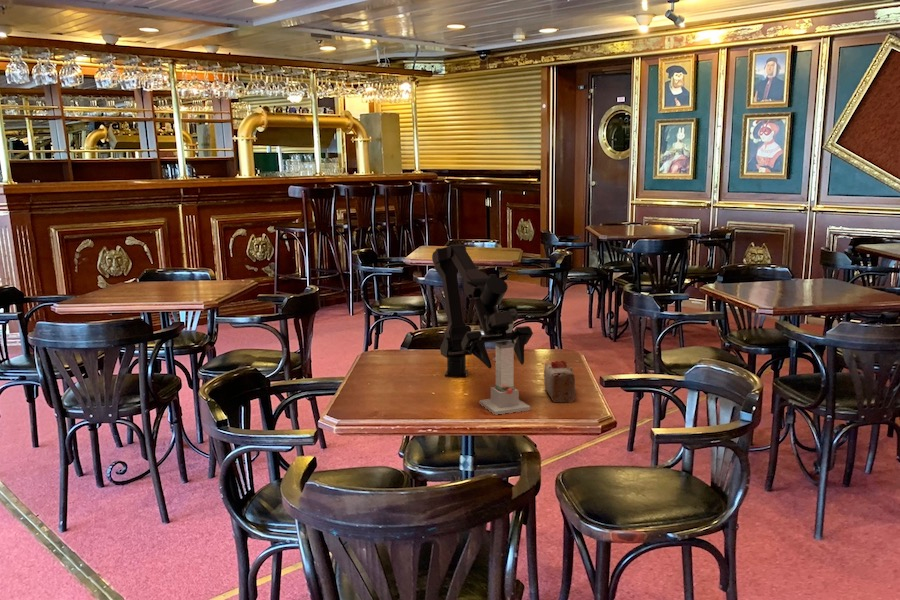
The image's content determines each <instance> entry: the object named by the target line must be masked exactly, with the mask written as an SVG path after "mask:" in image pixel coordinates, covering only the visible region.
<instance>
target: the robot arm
mask: <svg viewBox="0 0 900 600" xmlns="http://www.w3.org/2000/svg"><path fill="white" fill-rule="evenodd" d="M431 258H432V259H431V260H432V263H433V264H434V270H435V271H436V272H437V274H438V275H439V276H440V277H441V280H442V281H441V282H442V289H443V295H444V296H443V297H444V303H445V311H446V317H447V326H446V327H445V328H446V329H445V331H444V334H443V336H444V338H443V340H442V343H441V345H440V347H439V349H440V355H442V356H443V357H444V358H446V372H445V373H444V377H448V378H449V377H451V378H453V377H454V378H466V377H467V375H468V372H469V370H468V369H467V366H466V365H467V363H466V361H467V360H466V358H467V357H466V356H472V355H474V357H476V358H477V359H478V360H480V361H481V362H482V363H483V364H484V366H486V368H488V369H489V370H490V369H492V362H491V358H490V356H489V354H488V352H487V349H486V344H487V343H495V342H499V341H510V342H511V343H513V344H515V347H514V353H515V356H516V358H517V359H518V363H520V365H522V366H524V365H525V364H524V363H525V345H527V344H528V343H529V341H530V339H531V337H532V336H533V335H534V333H533V330H532V328H531V327H530V325H529V326H528V325H523V326H516V327H515V328H514V329H513V330H514V331H512V332H511V333H506V330H508V329H509V324H513V322H514V323H515V322H516V321H518V320H519V315H518V314H519V313H518V312H517V309H516V308H510V309H508V310H506V311H499V309H498V306H499V305H500V304H501V302H502V301H503V299H504V296H505V294H506V293H507V290H508V287H509V286H508V284H507V282H506V281H505V280H503V278H501V277H498V275H497V274H496V273H491V274H487V273H486V272H484V271H481V270H479V269H478V268H477V266H476V264H475V263H474V261H473V259H472V258H471V256H470V255H469V253H468V251H467V247H466V245H465V244H460V243H458V244H450V245H447V246H444V247H440V248H439V247H437V248H436V249H435V251H433V253H432V255H431ZM458 274H460V276H461V278H462V280H463V281H464V283H463V291H464V294H465V296H466V297H467V298H468V299H476V300H475V302H474V303H473V308H472V309H473V313H476V314H477V317H478V320H479V326H478V327H479V330H473V331H472V329H471V328H472V327H471V326H470V325H467V323H466V322H465V321H464V315H463V308H462V300H461V294H460V293H461V292H460V286H459V277H458ZM480 330H482V331H480ZM482 332H483V334H482Z"/></svg>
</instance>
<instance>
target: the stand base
mask: <svg viewBox="0 0 900 600" xmlns="http://www.w3.org/2000/svg"><path fill="white" fill-rule="evenodd" d="M519 394H520V392H519V389H517V388H516V387H514V390H513V388H509V389H508V390H507V391H505V392H500V391H499V390H497V389H496V387H495V386H490V398H487V399H481V400H479V403H478V404H479V405H480V404H481V405H480V406H482V407H483V406H484V407H485V410H487V409H488V410H489V413H491V412H492V413H491V414H493V415H494V414H495V415H494V416H499V415H498V414H502V415H506V414H505V413H509V414H514V413H513V412H516V413H520V412H521V411H522V412H527V411H531V406H530V405H529V404H527V403H525V402H524V401H522V400H521V399H520V397H519V396H520V395H519ZM484 407H483V408H484ZM488 410H487V411H488Z"/></svg>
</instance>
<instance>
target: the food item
mask: <svg viewBox="0 0 900 600" xmlns="http://www.w3.org/2000/svg"><path fill="white" fill-rule="evenodd" d="M568 363H569V360H568V362H566V361H565V360H559V361H558V360H555V361H554V360H553V361H547V362H545V364H544V369H543V370H544V371H543V377H544V388H545V390H546V392H547V394H548V395H549V397H550V398H551V400H552V402H553V403H573V402H574V401H575V397H576V396H575V393H576V389H575V388H576V378H575V374H574V373H573V367H572V366H568V365H567V364H568Z"/></svg>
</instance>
